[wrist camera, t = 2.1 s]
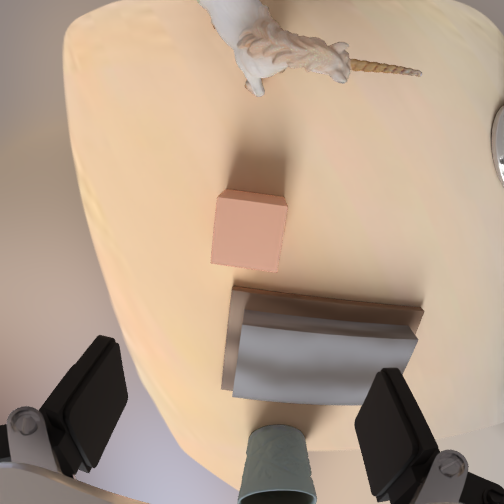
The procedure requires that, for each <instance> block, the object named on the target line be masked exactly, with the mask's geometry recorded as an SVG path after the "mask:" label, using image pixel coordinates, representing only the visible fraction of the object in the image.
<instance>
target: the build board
mask: <svg viewBox="0 0 504 504" xmlns="http://www.w3.org/2000/svg"><path fill="white" fill-rule="evenodd" d="M423 314H424V310H423V309H422V308H421V307H410V306H399V305H388V304H378V303H368V302H358V301H349V300H340V299H331V298H322V297H314V296H305V295H297V294H289V293H281V292H274V291H266V290H259V289H251V288H244V287H237V286H233V287H232V293H231V302H230V311H229V320H228V329H227V338H226V347H225V356H224V366H223V376H222V385H221V389H222V390H229V391H233V395H232V397H237V398H245V399H253V400H262V401H272V402H283V403H297V404H316V405H363V402H364V400H365V398H366V396H367V394H368V392H369V389H370V387H371V385H372V383H373V380H374V378H375V376H376V374H377V372H380V371H381V370H382V369H383V368H398V369H399V370H400V372H401V374H403V372H404V370H405V368H406V366H407V364H408V362H409V360H410V357H411V355H412V353H413V351H414V349H415V346H416V344H417V342H418V338H417V337H416V336H415V334H416V331H417V329H418V327H419V324H420V321H421V319H422V316H423Z"/></svg>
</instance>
